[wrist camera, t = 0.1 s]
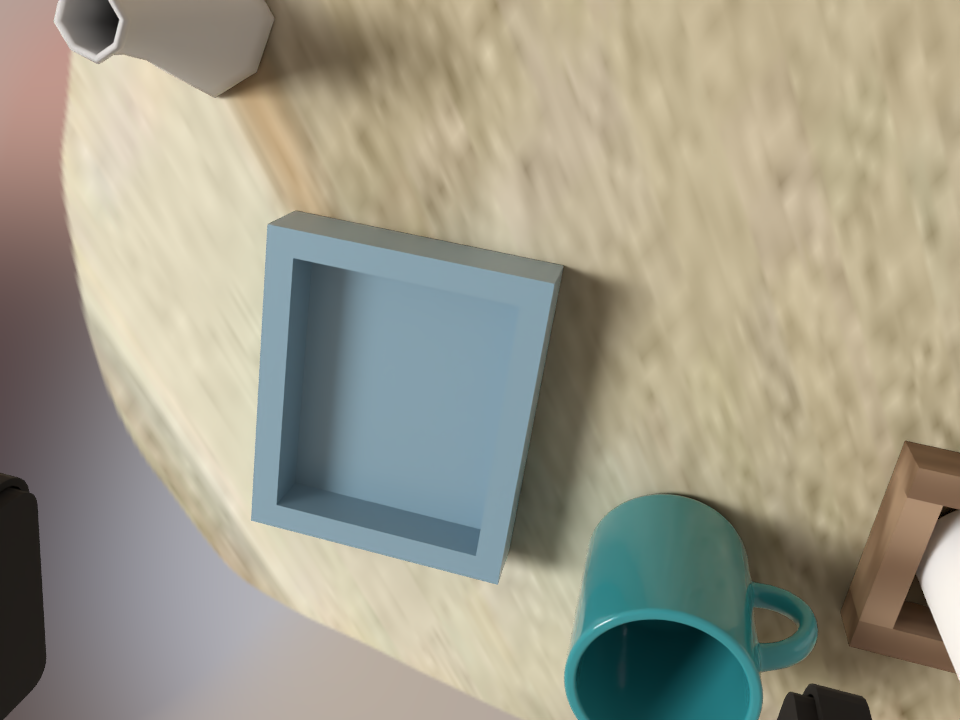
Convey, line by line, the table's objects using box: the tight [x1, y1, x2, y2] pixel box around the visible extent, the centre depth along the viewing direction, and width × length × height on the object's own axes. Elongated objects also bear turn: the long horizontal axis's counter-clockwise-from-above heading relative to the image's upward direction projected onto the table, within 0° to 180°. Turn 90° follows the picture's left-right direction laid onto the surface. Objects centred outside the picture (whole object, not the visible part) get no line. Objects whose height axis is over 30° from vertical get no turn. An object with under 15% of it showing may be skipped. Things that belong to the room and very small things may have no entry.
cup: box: [564, 494, 818, 720], centre depth 46 cm, size 9×12×11 cm
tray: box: [251, 211, 564, 585], centre depth 49 cm, size 18×15×4 cm
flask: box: [54, 0, 274, 98], centre depth 41 cm, size 7×7×10 cm
